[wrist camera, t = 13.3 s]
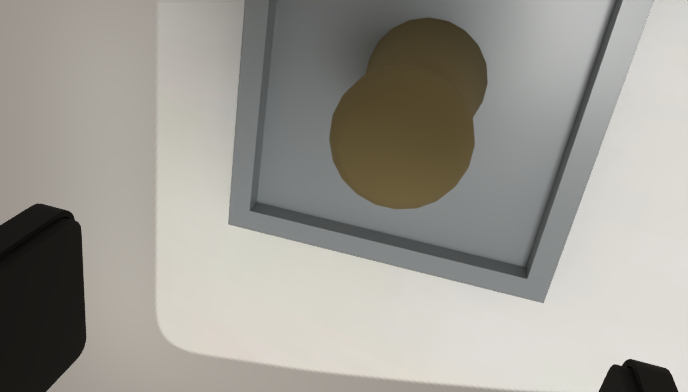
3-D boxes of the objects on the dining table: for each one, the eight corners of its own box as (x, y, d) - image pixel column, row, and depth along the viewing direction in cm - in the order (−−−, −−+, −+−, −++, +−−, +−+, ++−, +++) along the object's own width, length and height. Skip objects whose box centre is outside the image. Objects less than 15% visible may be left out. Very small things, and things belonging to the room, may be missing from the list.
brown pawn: (350, 113, 31) (287, 197, 22) (389, -1, 29) (337, 36, 19) (459, 154, 31) (445, 259, 21) (508, 43, 28) (518, 104, 18)
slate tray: (273, -172, 27) (258, -179, 26) (680, -110, 25) (695, -112, 23) (241, 209, 36) (228, 224, 34) (540, 283, 34) (543, 303, 32)
